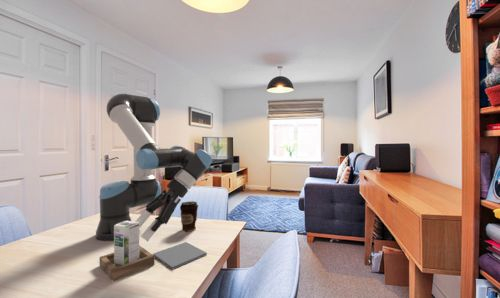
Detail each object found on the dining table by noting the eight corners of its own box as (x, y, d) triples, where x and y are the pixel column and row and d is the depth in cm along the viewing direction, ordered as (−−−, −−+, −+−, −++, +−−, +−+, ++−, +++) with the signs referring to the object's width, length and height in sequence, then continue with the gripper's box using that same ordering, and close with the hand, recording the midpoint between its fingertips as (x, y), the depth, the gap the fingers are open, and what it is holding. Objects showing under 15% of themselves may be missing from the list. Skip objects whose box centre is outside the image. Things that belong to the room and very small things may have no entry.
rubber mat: (152, 255, 88) (152, 253, 88) (185, 243, 98) (185, 241, 98) (172, 269, 78) (172, 267, 78) (206, 254, 88) (206, 252, 88)
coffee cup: (193, 233, 109) (193, 205, 109) (176, 232, 111) (176, 204, 110) (200, 226, 118) (200, 200, 117) (185, 225, 119) (185, 200, 119)
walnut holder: (99, 265, 81) (99, 257, 80) (138, 252, 90) (138, 244, 90) (112, 280, 72) (112, 271, 72) (154, 264, 81) (154, 255, 81)
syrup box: (113, 267, 79) (112, 225, 79) (128, 259, 85) (127, 219, 84) (126, 271, 77) (125, 227, 77) (140, 262, 83) (139, 221, 82)
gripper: (201, 195, 82) (157, 251, 73) (177, 185, 102) (140, 227, 93) (186, 182, 78) (138, 238, 70) (164, 174, 98) (124, 217, 90)
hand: (139, 232), depth 82 cm, fingers open, 13 cm apart
